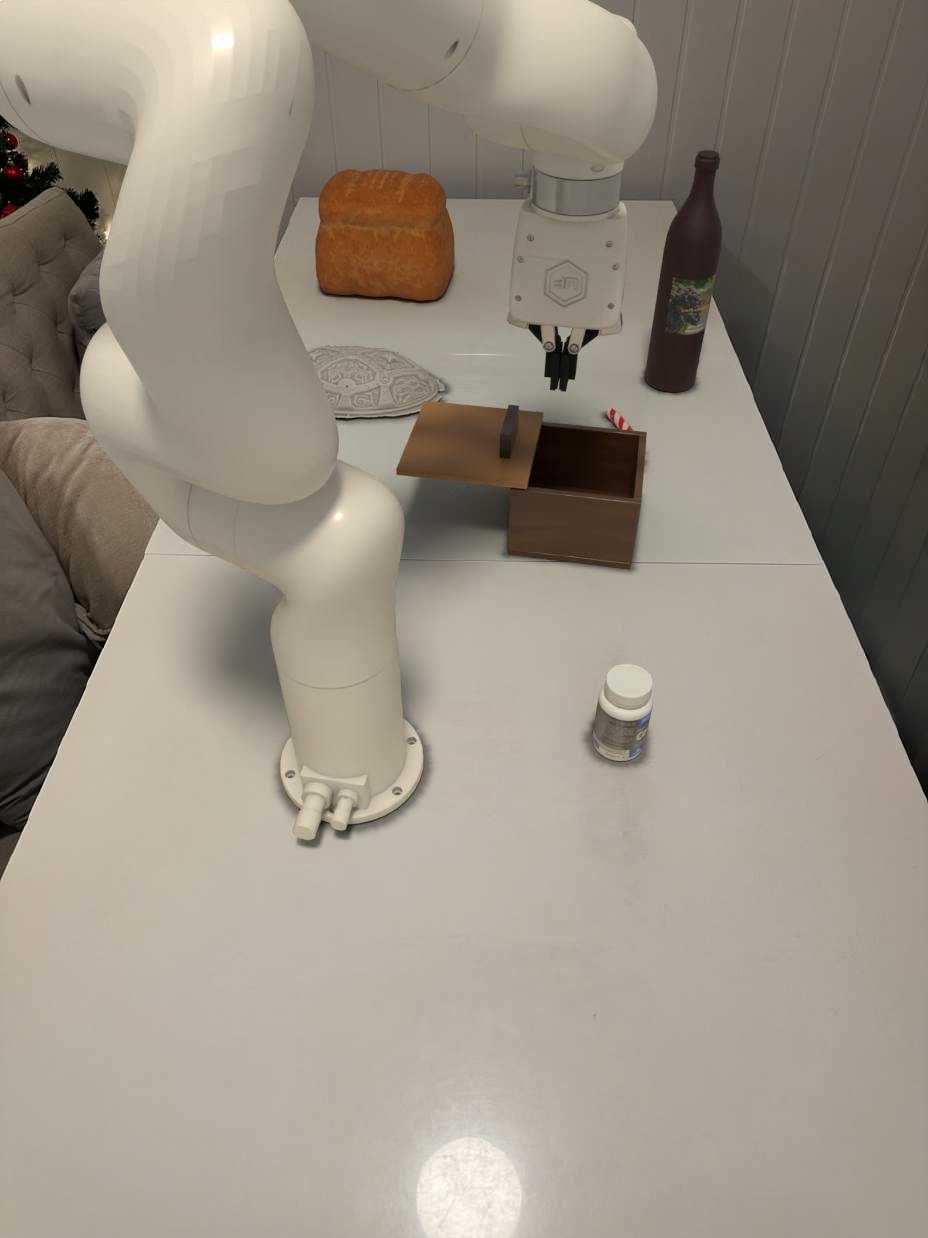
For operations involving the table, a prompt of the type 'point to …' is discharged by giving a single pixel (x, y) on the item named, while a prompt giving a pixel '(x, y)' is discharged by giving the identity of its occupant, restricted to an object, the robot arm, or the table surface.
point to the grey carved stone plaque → (372, 381)
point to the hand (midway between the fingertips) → (559, 383)
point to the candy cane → (617, 419)
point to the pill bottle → (623, 712)
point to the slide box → (580, 496)
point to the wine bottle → (686, 283)
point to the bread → (384, 235)
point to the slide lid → (472, 444)
